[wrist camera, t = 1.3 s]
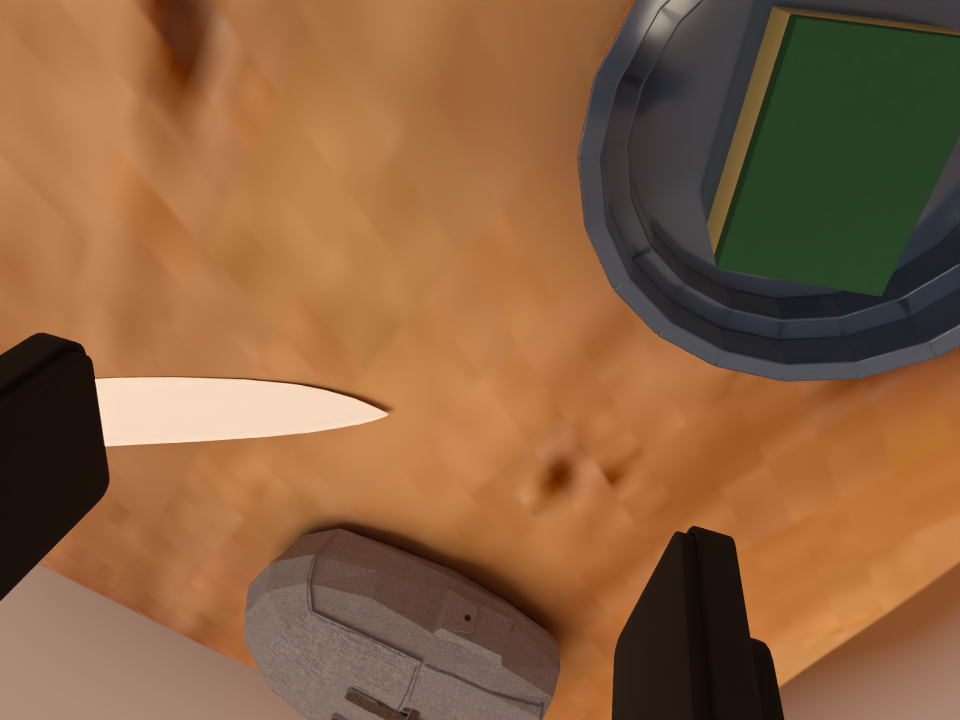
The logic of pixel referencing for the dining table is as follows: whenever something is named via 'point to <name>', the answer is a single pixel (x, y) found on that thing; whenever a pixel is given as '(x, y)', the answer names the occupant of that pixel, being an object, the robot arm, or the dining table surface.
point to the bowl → (692, 189)
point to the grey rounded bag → (392, 637)
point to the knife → (218, 409)
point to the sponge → (836, 148)
